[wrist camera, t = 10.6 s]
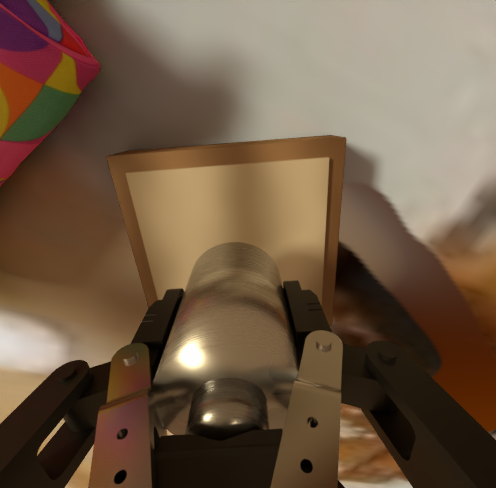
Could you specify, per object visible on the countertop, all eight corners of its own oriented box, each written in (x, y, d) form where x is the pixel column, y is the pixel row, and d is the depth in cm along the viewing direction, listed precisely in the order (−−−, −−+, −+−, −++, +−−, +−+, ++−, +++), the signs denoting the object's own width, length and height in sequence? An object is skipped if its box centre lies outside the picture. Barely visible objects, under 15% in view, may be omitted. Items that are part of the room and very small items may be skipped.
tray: (166, 313, 24) (156, 340, 21) (126, 151, 18) (103, 156, 15) (321, 302, 24) (332, 329, 21) (330, 135, 18) (347, 138, 15)
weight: (197, 321, 16) (157, 496, 9) (183, 245, 14) (112, 390, 6) (281, 315, 16) (314, 487, 8) (279, 238, 14) (320, 376, 6)
